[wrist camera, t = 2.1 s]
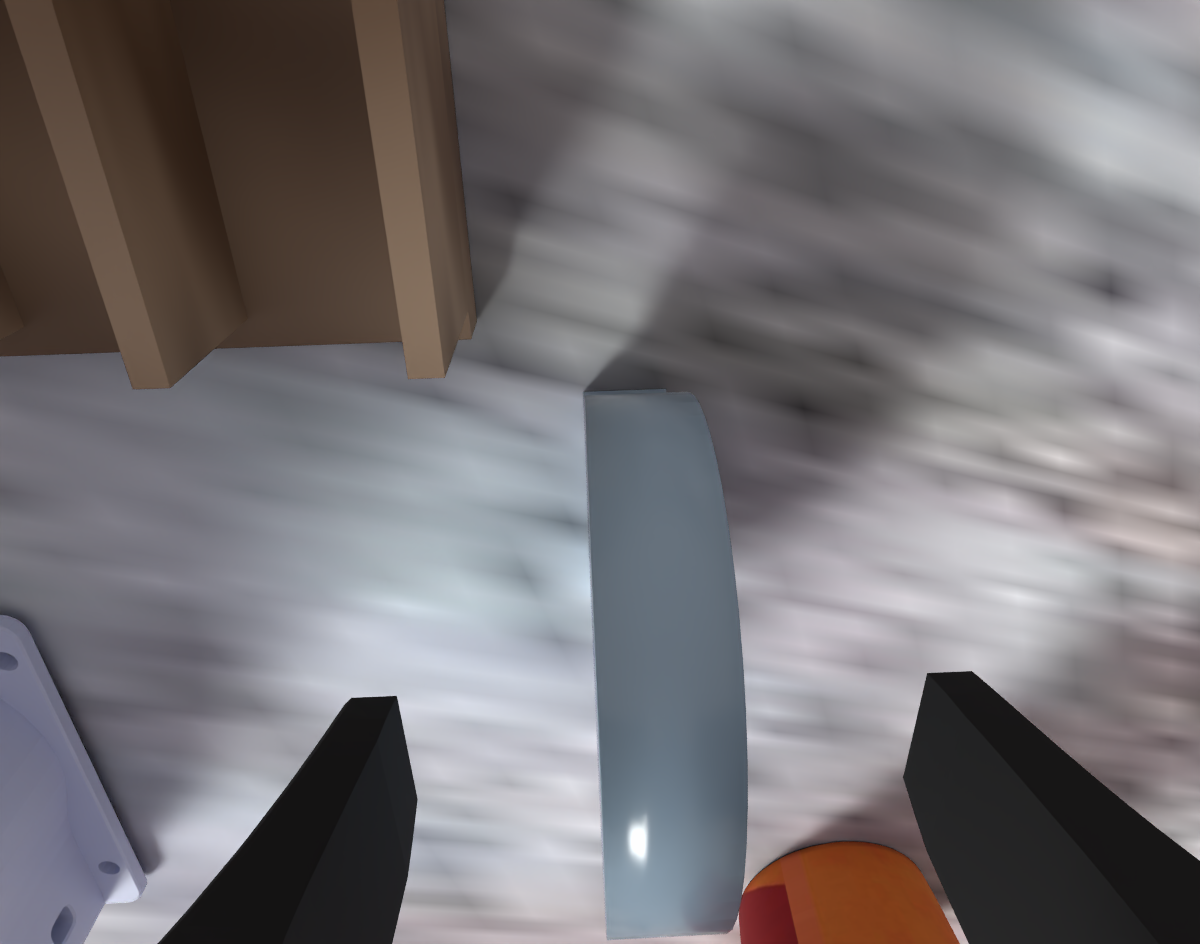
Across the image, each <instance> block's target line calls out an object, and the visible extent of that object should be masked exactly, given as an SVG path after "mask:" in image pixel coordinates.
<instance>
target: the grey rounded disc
mask: <svg viewBox="0 0 1200 944" xmlns="http://www.w3.org/2000/svg"><path fill="white" fill-rule="evenodd" d="M583 399H584V426H585V452H586V479H587V505H588V532H589V559H590V585H591V609H592V630H593V654H594V678H595V702H596V725H597V749H598V772H599V794H600V816H601V838H602V859H603V880H604V900H605V919H606V935H607V940H618V939H637V938H656V937H674V936H693V935H712V934H727V933H728V932H730V931H731V930H732V929H733V926H734V924H735V922H736V920H737V916H738V912H739V907H740V903H741V897H742V889H743V882H744V872H745V858H746V844H747V811H748V763H747V730H746V706H745V688H744V670H743V657H742V644H741V632H740V619H739V609H738V600H737V590H736V581H735V571H734V564H733V556H732V548H731V541H730V533H729V526H728V520H727V514H726V508H725V501H724V495H723V489H722V484H721V479H720V474H719V469H718V464H717V459H716V455H715V451H714V447H713V443H712V439H711V435H710V431H709V428H708V425H707V422H706V419H705V416H704V413H703V411H702V409H701V406H700V404H699V402H698V400H697V399H696V398H695V396H694V395H693V394H692V393H690V392H667V391H666V389H646V390H620V391H594V392H583Z"/></svg>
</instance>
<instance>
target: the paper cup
mask: <svg viewBox="0 0 1200 944" xmlns="http://www.w3.org/2000/svg"><path fill="white" fill-rule="evenodd" d="M739 925H740V936H741V944H960V943H959V942H958V940H957V938H956V936H955V934H954V932H953V930H952V928H951V926H950V924H949V922H948V920H947V918H946V917H945V915H944V913H943V911H942V909H941V907H940V905H939V903H938V901H937V899H936V897H935V896H934V894H933V892H932V890H931V889H930V887H929V885H928V883H927V881H926V880H925V878H924V876H923V874H922V873H921V871H920V870H919V869H918V867H917V866H916V865H915V864H914V862H913V861H911V860H910V859H909V858H908V857H906V856H905V855H904V854H902V853H900V852H898V851H896V850H894V849H891V848H889V847H886V846H882V845H878V844H873V843H867V842H854V841H852V842H833V843H826V844H820V845H815V846H812V847H808V848H804V849H801V850H798V851H796V852H793V853H791V854H788V855H786V856H784V857H782V858H780V859H778V860H777V861H775V862H773V863H772V864H770V865H769V866H767V867H766V868H764V869H763V870H762V871H761V872H760V873H758V874H757V875H756V876H755V877H754V878H753V880H752V881H751V882H750V883H749V884H748V886H747V887H746V889H745V891H744V893H743V895H742V897H741V903H740V907H739Z"/></svg>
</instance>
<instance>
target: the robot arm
mask: <svg viewBox="0 0 1200 944" xmlns="http://www.w3.org/2000/svg"><path fill="white" fill-rule="evenodd" d="M7 653H8V654H10V655H12V656H14V657H12V656H10V655H8V654H7ZM903 778H904V782H905V785H906V788H907V791H908V794H909V798H910V801H911V804H912V807H913V811H914V814H915V817H916V820H917V823H918V826H919V829H920V832H921V835H922V838H923V841H924V844H925V847H926V850H927V852H928V855H929V857H930V859H931V861H932V864H933V866H934V868H935V871H936V873H937V875H938V877H939V879H940V882H941V884H942V886H943V888H944V890H945V893H946V895H947V897H948V899H949V901H950V904H951V906H952V908H953V910H954V912H955V915H956V917H957V919H958V921H959V923H960V925H961V928H962V930H963V932H964V934H965V936H966V938H967V940H968V943H969V944H1200V861H1199V860H1198V859H1197V858H1195V857H1194V856H1193V855H1191V854H1190V853H1189V852H1187V851H1186V850H1185V849H1183V848H1182V847H1181V846H1180V845H1178V844H1177V843H1176V842H1174V841H1173V840H1172V839H1170V838H1169V837H1168V836H1167V835H1165V834H1164V833H1163V832H1161V831H1160V830H1159V829H1157V828H1156V827H1155V826H1154V825H1152V824H1151V823H1150V822H1149V821H1147V820H1146V819H1145V818H1144V817H1142V816H1141V815H1140V814H1139V813H1137V812H1136V811H1135V810H1134V809H1132V808H1131V807H1130V806H1129V805H1127V804H1126V803H1125V802H1124V801H1123V800H1121V799H1120V798H1119V797H1118V796H1116V795H1115V794H1114V793H1113V792H1112V791H1110V790H1109V789H1108V788H1107V787H1106V786H1104V785H1103V784H1102V783H1101V782H1100V781H1098V780H1097V779H1096V778H1095V777H1094V776H1092V775H1091V774H1090V773H1089V772H1088V771H1086V770H1085V769H1084V768H1083V767H1082V766H1081V765H1079V764H1078V763H1077V762H1076V761H1075V760H1074V759H1072V758H1071V757H1070V756H1069V755H1068V754H1067V753H1065V752H1064V751H1063V750H1062V749H1061V748H1060V747H1058V746H1057V745H1056V744H1055V743H1054V742H1053V741H1052V740H1050V739H1049V738H1048V737H1047V736H1046V735H1045V734H1044V733H1042V732H1041V731H1040V730H1039V729H1038V728H1037V727H1035V726H1034V725H1033V724H1032V723H1031V722H1030V721H1029V720H1027V719H1026V718H1025V717H1024V716H1023V715H1022V714H1021V713H1020V712H1018V711H1017V710H1016V709H1015V708H1014V707H1013V706H1012V705H1010V704H1009V703H1008V702H1007V701H1006V700H1005V699H1004V698H1002V697H1001V696H1000V695H999V694H998V693H997V692H996V691H994V690H993V689H992V688H991V687H990V686H989V685H987V684H986V683H985V682H984V681H983V680H982V679H980V678H979V677H978V676H977V675H976V674H974V673H973V672H972V671H967V672H944V673H927V677H926V681H925V685H924V690H923V694H922V698H921V703H920V707H919V711H918V716H917V720H916V724H915V729H914V733H913V737H912V742H911V746H910V750H909V755H908V759H907V763H906V768H905V772H904V776H903ZM416 807H417V795H416V790H415V785H414V780H413V775H412V770H411V765H410V760H409V755H408V750H407V745H406V740H405V735H404V730H403V725H402V720H401V715H400V710H399V705H398V700H397V696H386V697H363V698H351V699H350V700H349V701H348V702H347V703H346V704H345V705H344V706H343V708H342V709H341V711H340V712H339V714H338V715H337V716H336V718H335V719H334V721H333V722H332V724H331V725H330V727H329V728H328V730H327V731H326V732H325V734H324V735H323V737H322V738H321V740H320V741H319V742H318V744H317V745H316V747H315V748H314V750H313V751H312V752H311V754H310V755H309V757H308V758H307V759H306V761H305V762H304V764H303V765H302V766H301V768H300V769H299V771H298V772H297V773H296V775H295V776H294V777H293V779H292V780H291V782H290V783H289V784H288V786H287V787H286V788H285V790H284V791H283V792H282V794H281V795H280V796H279V798H278V799H277V800H276V801H275V803H274V804H273V805H272V807H271V808H270V809H269V811H268V812H267V813H266V815H265V816H264V817H263V818H262V820H261V821H260V822H259V824H258V825H257V826H256V828H255V829H254V830H253V832H252V833H251V834H250V835H249V837H248V838H247V839H246V841H245V842H244V843H243V844H242V846H241V847H240V848H239V849H238V851H237V852H236V853H235V854H234V855H233V857H232V858H231V859H230V860H229V861H228V863H227V864H226V865H225V866H224V867H223V869H222V870H221V871H220V872H219V873H218V875H217V876H216V877H215V878H214V879H213V881H212V882H211V883H210V884H209V885H208V887H207V888H206V889H205V890H204V891H203V892H202V894H201V895H200V896H199V897H198V898H197V900H196V901H195V902H194V903H193V904H192V906H191V907H190V908H189V909H188V910H187V911H186V913H185V914H184V915H183V916H182V917H181V918H180V919H179V920H178V922H177V923H176V924H175V925H174V926H173V927H172V928H171V929H170V931H169V932H168V933H167V934H166V935H165V936H164V937H163V938H162V939H161V941H160V942H159V943H158V944H392V942H393V937H394V933H395V929H396V925H397V920H398V916H399V912H400V908H401V903H402V899H403V895H404V890H405V886H406V882H407V877H408V871H409V863H410V856H411V848H412V841H413V833H414V824H415V816H416ZM146 885H147V879H146V877H145V875H144V873H143V870H142V868H141V866H140V864H139V862H138V860H137V858H136V856H135V854H134V851H133V849H132V847H131V845H130V843H129V841H128V839H127V837H126V835H125V832H124V830H123V828H122V826H121V824H120V822H119V820H118V818H117V816H116V813H115V811H114V809H113V807H112V805H111V803H110V801H109V799H108V797H107V794H106V792H105V790H104V788H103V786H102V784H101V782H100V780H99V778H98V775H97V773H96V771H95V769H94V767H93V765H92V763H91V761H90V759H89V756H88V754H87V752H86V750H85V748H84V746H83V744H82V742H81V740H80V737H79V735H78V733H77V731H76V729H75V727H74V725H73V723H72V721H71V718H70V716H69V714H68V712H67V710H66V708H65V706H64V704H63V702H62V699H61V697H60V695H59V693H58V691H57V689H56V687H55V685H54V683H53V680H52V678H51V676H50V674H49V672H48V670H47V668H46V666H45V664H44V662H43V659H42V657H41V655H40V653H39V651H38V649H37V647H36V645H35V643H34V640H33V638H32V636H31V634H30V632H29V630H28V629H27V628H26V626H25V625H24V624H23V623H21V622H20V621H19V620H17V619H15V618H13V617H10V616H6V615H0V944H83V943H84V942H85V940H86V938H87V936H88V934H89V932H90V930H91V928H92V926H93V925H94V923H95V921H96V919H97V917H98V915H99V913H100V911H101V909H102V908H103V906H104V904H109V903H127V902H132V901H135V900H137V899H139V898H140V896H141V895H142V893H143V891H144V889H145V887H146Z"/></svg>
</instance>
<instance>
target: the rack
mask: <svg viewBox="0 0 1200 944" xmlns="http://www.w3.org/2000/svg"><path fill="white" fill-rule="evenodd" d="M476 322H477V318H476V308H475V298H474V289H473V279H472V269H471V259H470V250H469V240H468V230H467V220H466V210H465V201H464V191H463V181H462V171H461V162H460V152H459V142H458V132H457V123H456V113H455V103H454V93H453V84H452V74H451V64H450V54H449V45H448V35H447V25H446V15H445V5H444V0H0V356H27V355H55V354H82V353H109V352H121V355H122V358H123V361H124V364H125V367H126V370H127V373H128V376H129V379H130V382H131V385H132V388H133V389H158V388H171V387H172V386H173V385H174V384H175V383H177V382H178V381H179V380H180V379H181V378H182V377H183V376H184V375H185V374H187V373H188V372H189V371H190V370H191V369H192V368H193V367H194V366H196V365H197V364H198V363H199V362H200V361H201V360H202V359H203V358H204V357H206V356H207V355H208V354H209V353H210V352H211V351H212V350H213V349H218V348H246V347H273V346H300V345H328V344H355V343H382V342H403V349H404V356H405V362H406V369H407V375H408V379H423V378H445V376H446V373H447V370H448V367H449V365H450V362H451V359H452V356H453V353H454V350H455V347H456V344H457V342H458V340H464V339H471V338H472V335H473V332H474V329H475V325H476Z"/></svg>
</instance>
